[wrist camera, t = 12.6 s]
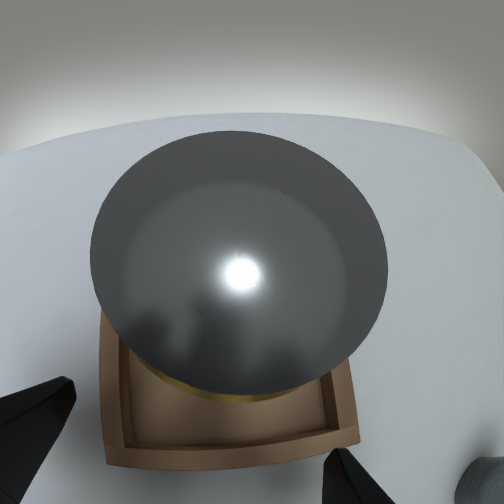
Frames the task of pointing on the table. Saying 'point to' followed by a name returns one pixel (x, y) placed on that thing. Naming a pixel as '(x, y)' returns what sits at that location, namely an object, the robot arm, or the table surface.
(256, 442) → the tray
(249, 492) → the table surface
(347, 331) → the cylinder
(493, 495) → the cylinder
